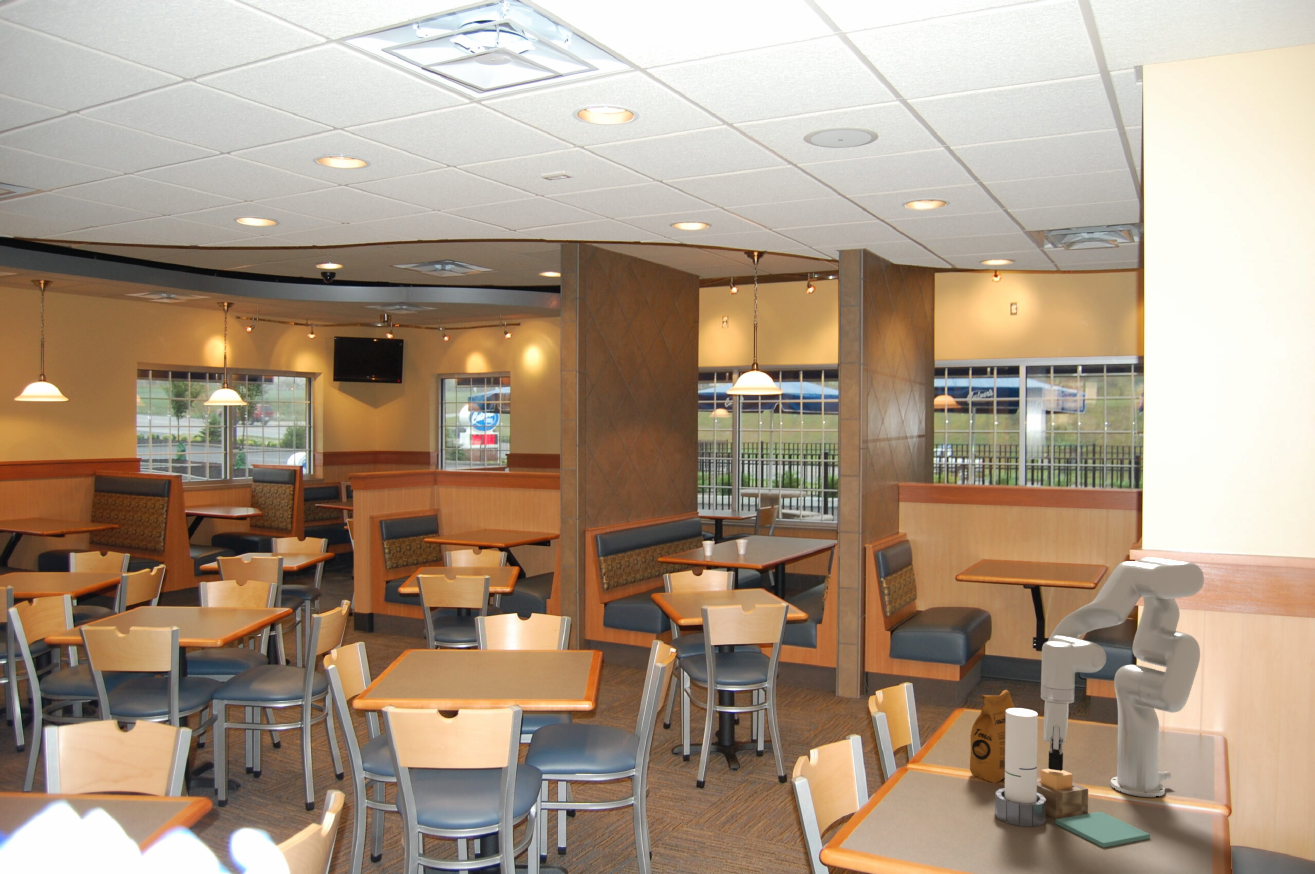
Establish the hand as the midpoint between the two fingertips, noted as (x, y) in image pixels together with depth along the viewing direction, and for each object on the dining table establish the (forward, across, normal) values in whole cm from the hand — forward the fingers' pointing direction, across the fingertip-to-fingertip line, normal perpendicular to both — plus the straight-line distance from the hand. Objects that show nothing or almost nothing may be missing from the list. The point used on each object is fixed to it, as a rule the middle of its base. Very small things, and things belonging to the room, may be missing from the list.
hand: (1055, 768), depth 237 cm
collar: (+10, +9, -7) cm, 15 cm away
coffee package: (+10, -19, -15) cm, 26 cm away
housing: (+10, 0, 0) cm, 10 cm away
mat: (+10, +10, +10) cm, 17 cm away
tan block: (+6, 0, 0) cm, 6 cm away
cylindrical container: (+10, +9, -7) cm, 15 cm away
